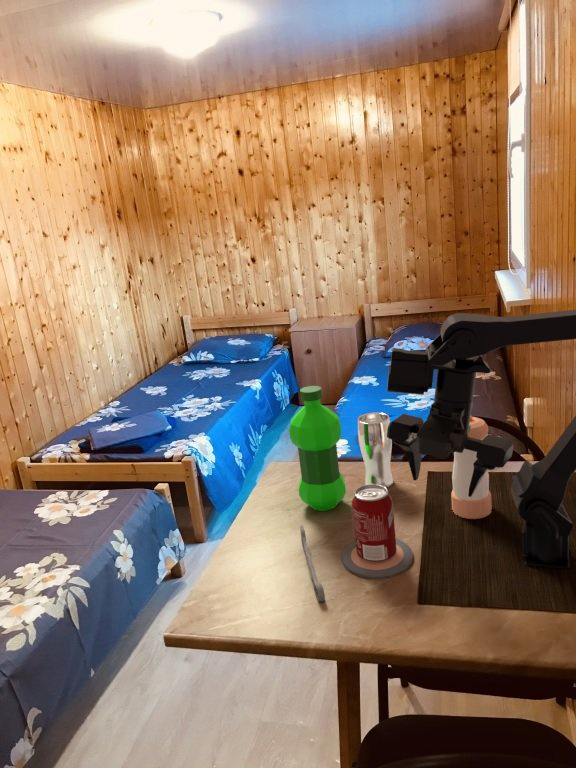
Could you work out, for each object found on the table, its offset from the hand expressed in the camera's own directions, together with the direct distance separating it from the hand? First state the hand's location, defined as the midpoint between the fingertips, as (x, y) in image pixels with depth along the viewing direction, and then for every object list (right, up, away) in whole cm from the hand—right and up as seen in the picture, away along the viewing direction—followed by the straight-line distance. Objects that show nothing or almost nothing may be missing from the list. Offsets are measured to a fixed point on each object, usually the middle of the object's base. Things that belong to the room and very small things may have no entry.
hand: (442, 487), depth 100 cm
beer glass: (-5, -5, +33) cm, 34 cm away
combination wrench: (-21, -15, +6) cm, 26 cm away
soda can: (-10, -13, +6) cm, 17 cm away
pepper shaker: (+10, -7, +18) cm, 22 cm away
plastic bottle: (-18, -8, +27) cm, 33 cm away
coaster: (-10, -13, +6) cm, 17 cm away
